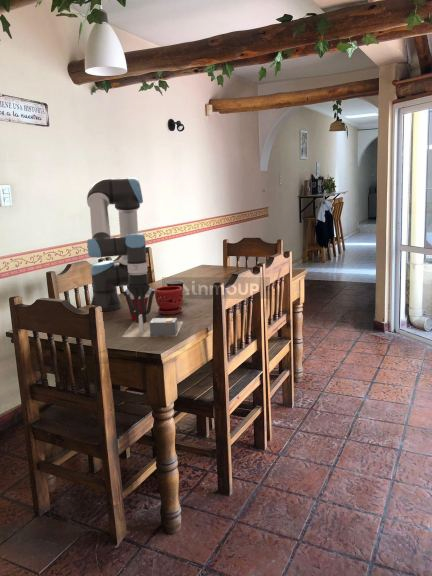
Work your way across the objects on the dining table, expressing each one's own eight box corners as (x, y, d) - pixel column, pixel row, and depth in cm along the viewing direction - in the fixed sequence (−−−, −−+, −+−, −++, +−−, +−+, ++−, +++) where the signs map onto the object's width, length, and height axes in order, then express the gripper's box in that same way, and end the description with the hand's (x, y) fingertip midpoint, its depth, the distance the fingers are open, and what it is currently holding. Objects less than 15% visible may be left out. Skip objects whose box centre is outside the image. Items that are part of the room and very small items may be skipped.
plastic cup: (152, 317, 221) (150, 292, 219) (149, 324, 211) (147, 297, 208) (128, 318, 221) (126, 293, 219) (125, 325, 211) (122, 298, 208)
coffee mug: (181, 302, 246) (180, 283, 244) (165, 302, 248) (164, 283, 245) (187, 297, 257) (186, 279, 255) (172, 297, 259) (171, 279, 256)
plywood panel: (121, 340, 190) (121, 337, 189) (133, 325, 209) (132, 322, 209) (176, 339, 188) (176, 336, 188) (183, 324, 208) (183, 321, 208)
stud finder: (150, 336, 189) (149, 321, 188) (153, 331, 195) (152, 317, 194) (175, 335, 189) (174, 321, 187) (177, 331, 195) (176, 317, 193)
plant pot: (188, 310, 231) (187, 286, 228) (173, 317, 220) (171, 291, 217) (167, 307, 238) (165, 284, 235) (150, 314, 227) (148, 289, 224)
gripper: (119, 275, 184) (124, 334, 190) (152, 274, 184) (156, 333, 189) (123, 271, 192) (128, 328, 197) (155, 270, 191) (159, 327, 196)
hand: (142, 330), depth 193 cm, fingers closed
